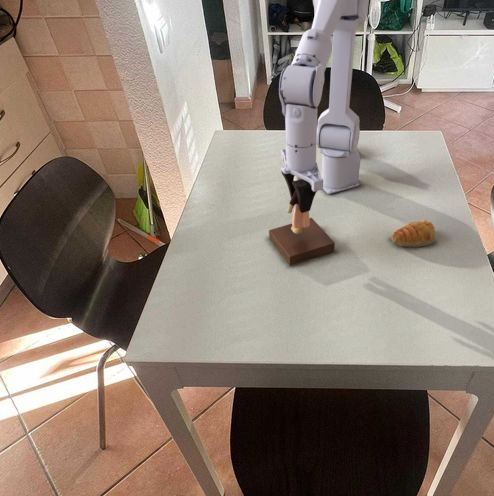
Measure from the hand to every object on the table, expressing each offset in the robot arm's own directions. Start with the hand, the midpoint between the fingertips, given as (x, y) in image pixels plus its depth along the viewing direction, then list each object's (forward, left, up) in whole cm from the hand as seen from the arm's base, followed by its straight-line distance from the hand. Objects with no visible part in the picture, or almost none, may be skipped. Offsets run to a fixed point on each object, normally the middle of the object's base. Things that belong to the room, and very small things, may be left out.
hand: (301, 206), depth 89 cm
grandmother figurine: (0, 0, -5) cm, 5 cm away
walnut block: (0, 0, -10) cm, 10 cm away
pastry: (-24, +10, -10) cm, 28 cm away
